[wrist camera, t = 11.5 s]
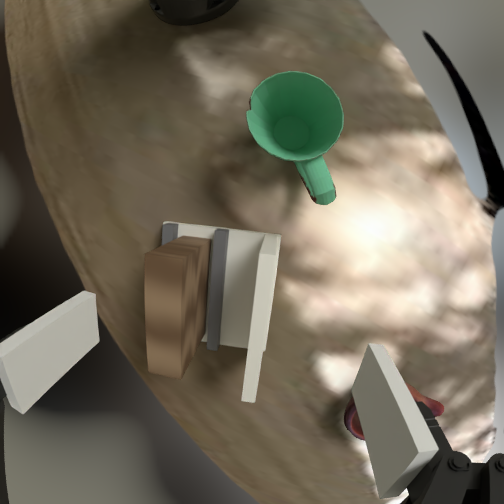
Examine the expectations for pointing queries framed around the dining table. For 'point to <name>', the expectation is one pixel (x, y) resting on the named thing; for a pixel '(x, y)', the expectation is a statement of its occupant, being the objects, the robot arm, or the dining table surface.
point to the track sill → (237, 290)
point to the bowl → (354, 422)
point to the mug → (298, 126)
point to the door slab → (176, 303)
